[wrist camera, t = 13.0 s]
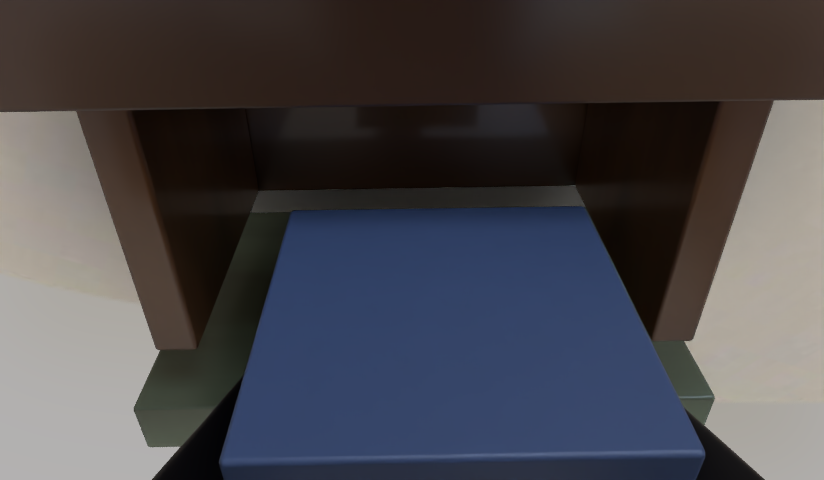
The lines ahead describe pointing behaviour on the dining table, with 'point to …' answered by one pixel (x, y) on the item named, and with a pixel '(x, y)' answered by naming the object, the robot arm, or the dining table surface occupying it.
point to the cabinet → (403, 52)
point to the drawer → (404, 168)
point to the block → (453, 355)
